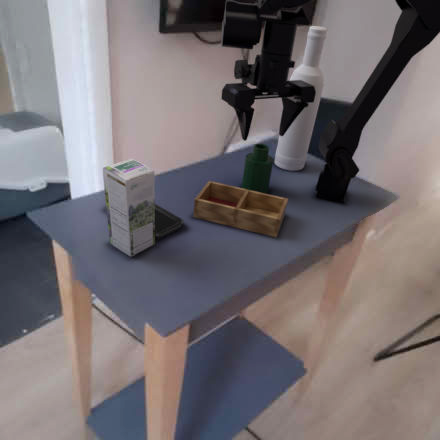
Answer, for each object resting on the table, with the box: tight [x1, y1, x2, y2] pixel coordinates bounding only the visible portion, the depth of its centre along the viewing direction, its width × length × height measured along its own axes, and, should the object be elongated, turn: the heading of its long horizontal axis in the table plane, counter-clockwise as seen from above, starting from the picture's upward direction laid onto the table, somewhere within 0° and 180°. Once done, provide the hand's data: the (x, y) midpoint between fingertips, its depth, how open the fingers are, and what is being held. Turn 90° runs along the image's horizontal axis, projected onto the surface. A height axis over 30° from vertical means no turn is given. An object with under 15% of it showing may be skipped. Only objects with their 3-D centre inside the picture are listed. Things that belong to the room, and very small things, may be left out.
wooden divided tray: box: [193, 180, 289, 238], centre depth 79 cm, size 17×9×4 cm, turn 73°
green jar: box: [241, 143, 275, 194], centre depth 87 cm, size 6×6×10 cm
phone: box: [155, 203, 184, 241], centre depth 76 cm, size 8×1×15 cm
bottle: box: [274, 25, 328, 172], centre depth 92 cm, size 8×8×30 cm
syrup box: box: [102, 158, 156, 258], centre depth 65 cm, size 6×6×14 cm
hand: (263, 137), depth 82 cm, fingers open, 9 cm apart
